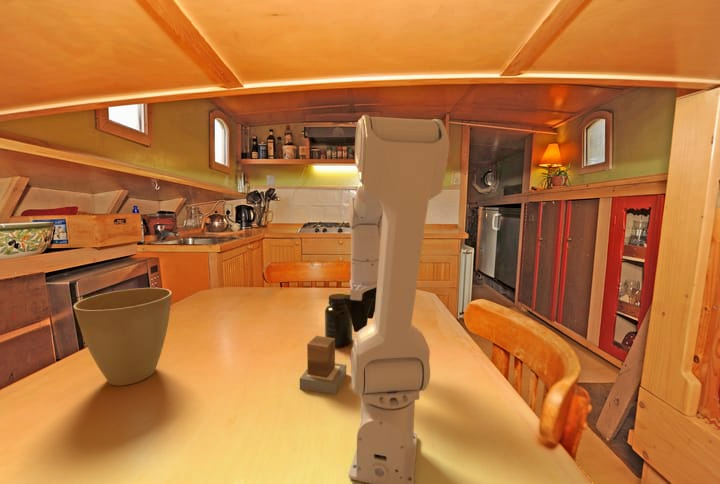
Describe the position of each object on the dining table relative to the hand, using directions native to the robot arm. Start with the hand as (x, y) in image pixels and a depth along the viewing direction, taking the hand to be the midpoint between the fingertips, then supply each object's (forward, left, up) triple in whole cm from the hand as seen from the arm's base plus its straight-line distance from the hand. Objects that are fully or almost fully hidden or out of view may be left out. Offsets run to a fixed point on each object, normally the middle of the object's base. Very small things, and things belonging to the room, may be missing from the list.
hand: (364, 324), depth 62 cm
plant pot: (-14, +44, -10) cm, 47 cm away
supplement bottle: (+11, +9, -10) cm, 17 cm away
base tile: (-6, +7, -10) cm, 13 cm away
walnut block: (-6, +7, -8) cm, 12 cm away
